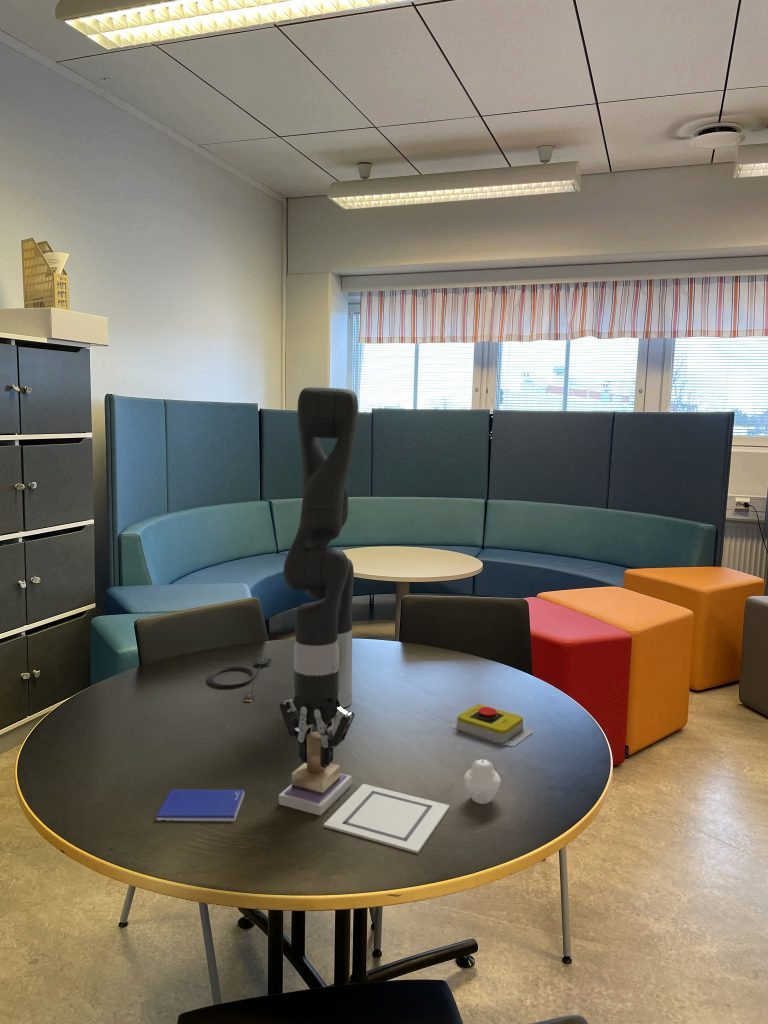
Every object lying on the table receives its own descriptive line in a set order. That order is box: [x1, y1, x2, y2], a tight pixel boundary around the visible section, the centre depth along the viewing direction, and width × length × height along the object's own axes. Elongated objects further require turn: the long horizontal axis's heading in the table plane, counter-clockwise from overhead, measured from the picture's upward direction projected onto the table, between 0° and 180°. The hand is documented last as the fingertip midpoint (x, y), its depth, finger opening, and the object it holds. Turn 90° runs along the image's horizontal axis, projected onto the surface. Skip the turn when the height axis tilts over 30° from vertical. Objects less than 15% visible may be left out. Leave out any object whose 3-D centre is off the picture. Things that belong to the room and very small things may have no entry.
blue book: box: [156, 789, 245, 822], centre depth 117 cm, size 2×8×12 cm
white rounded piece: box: [463, 759, 502, 805], centre depth 120 cm, size 6×6×7 cm
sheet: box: [323, 783, 451, 854], centre depth 114 cm, size 16×14×1 cm
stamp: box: [291, 731, 341, 796], centre depth 120 cm, size 6×6×9 cm
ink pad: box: [278, 772, 353, 816], centre depth 121 cm, size 8×11×2 cm
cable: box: [206, 657, 272, 703], centre depth 174 cm, size 14×28×2 cm, turn 179°
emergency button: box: [450, 704, 533, 747], centre depth 147 cm, size 9×4×15 cm
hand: (316, 762), depth 120 cm, fingers closed on stamp, 3 cm apart
